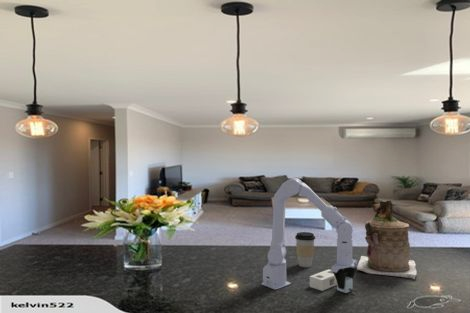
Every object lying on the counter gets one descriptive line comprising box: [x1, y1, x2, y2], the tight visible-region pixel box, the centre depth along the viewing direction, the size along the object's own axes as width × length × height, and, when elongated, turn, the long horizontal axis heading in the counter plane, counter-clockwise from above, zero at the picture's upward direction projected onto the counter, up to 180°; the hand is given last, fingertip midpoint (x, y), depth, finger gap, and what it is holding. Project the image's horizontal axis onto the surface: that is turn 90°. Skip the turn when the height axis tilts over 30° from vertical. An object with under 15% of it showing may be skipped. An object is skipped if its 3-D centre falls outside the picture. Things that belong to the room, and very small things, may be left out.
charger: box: [333, 277, 358, 294], centre depth 141 cm, size 9×4×5 cm, turn 41°
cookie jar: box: [356, 199, 418, 280], centre depth 168 cm, size 25×25×32 cm
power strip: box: [309, 269, 337, 292], centre depth 150 cm, size 6×18×5 cm, turn 131°
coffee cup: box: [294, 231, 316, 268], centre depth 173 cm, size 9×9×15 cm
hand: (344, 286), depth 141 cm, fingers closed on charger, 4 cm apart
